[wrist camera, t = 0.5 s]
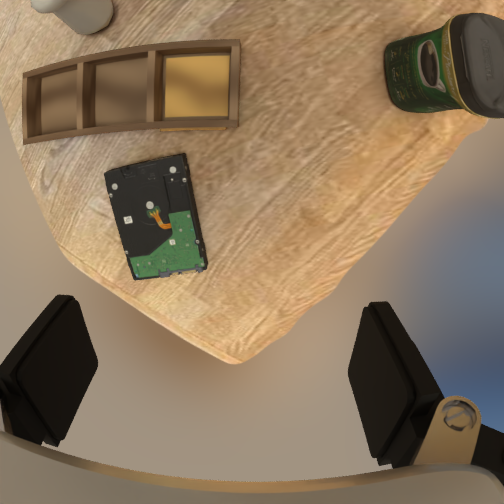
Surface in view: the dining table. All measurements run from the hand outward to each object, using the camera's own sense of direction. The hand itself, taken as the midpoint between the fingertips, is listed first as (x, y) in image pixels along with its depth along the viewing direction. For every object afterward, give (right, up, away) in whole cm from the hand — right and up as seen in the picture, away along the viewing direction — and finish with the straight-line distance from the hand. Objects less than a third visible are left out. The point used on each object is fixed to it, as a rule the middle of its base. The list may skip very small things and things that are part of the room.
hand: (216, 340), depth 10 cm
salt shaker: (-18, +32, +18) cm, 41 cm away
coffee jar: (+21, +25, +22) cm, 39 cm away
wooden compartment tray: (-14, +22, +23) cm, 34 cm away
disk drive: (-11, +7, +30) cm, 33 cm away
